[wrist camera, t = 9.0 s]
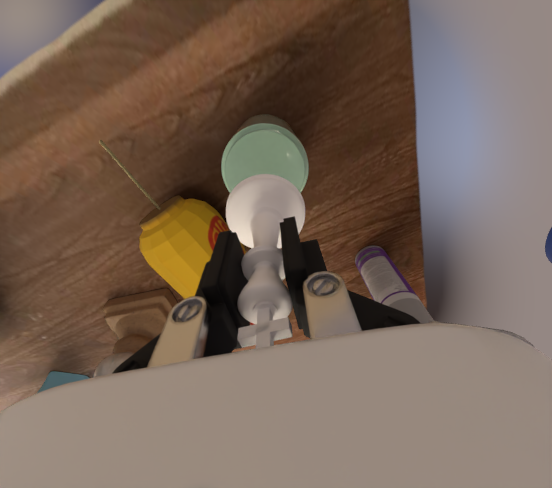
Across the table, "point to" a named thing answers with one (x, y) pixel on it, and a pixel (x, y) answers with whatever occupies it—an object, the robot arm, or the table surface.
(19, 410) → the robot arm
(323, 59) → the table surface
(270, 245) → the chess piece
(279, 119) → the upturned tumbler
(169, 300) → the candle holder
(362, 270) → the container
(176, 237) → the lantern
